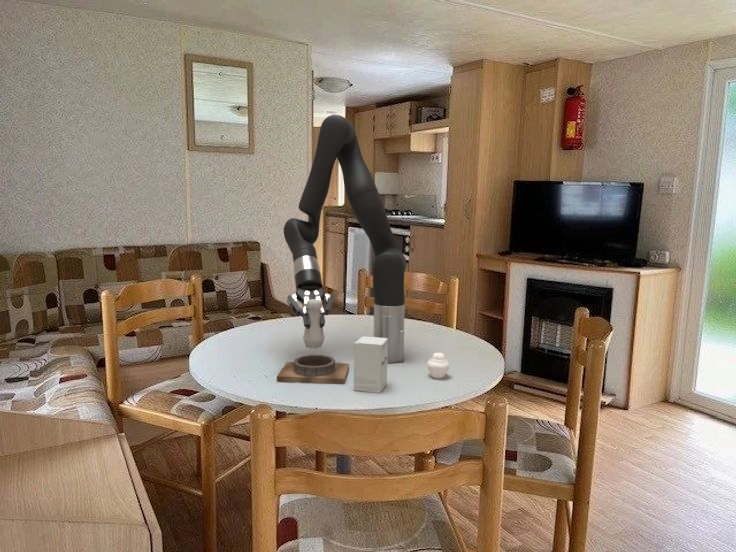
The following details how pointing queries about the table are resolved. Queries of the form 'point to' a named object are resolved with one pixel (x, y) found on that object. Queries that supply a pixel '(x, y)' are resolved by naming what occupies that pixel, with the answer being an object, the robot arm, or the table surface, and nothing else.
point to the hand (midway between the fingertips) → (315, 326)
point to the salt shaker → (314, 325)
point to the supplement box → (370, 364)
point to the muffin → (438, 365)
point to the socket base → (314, 370)
